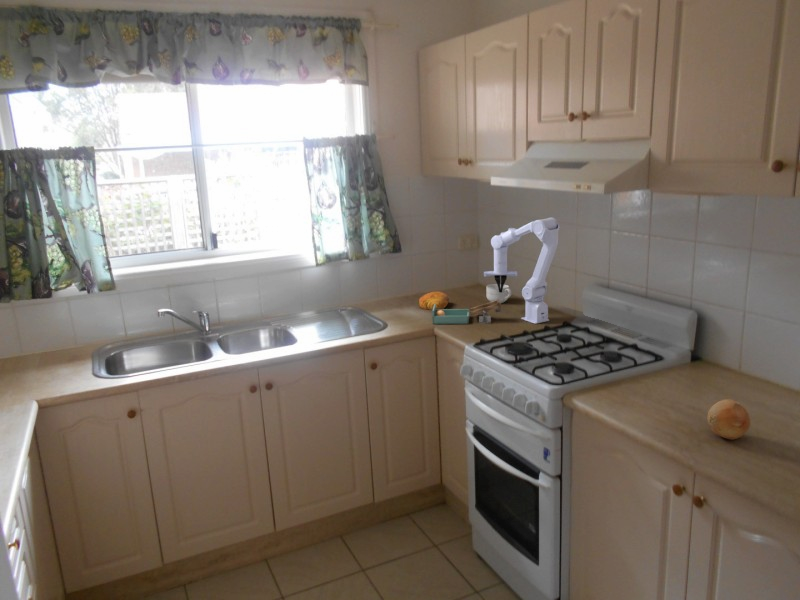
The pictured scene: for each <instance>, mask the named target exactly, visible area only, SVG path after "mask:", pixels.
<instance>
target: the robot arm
mask: <svg viewBox="0 0 800 600" xmlns="http://www.w3.org/2000/svg"><path fill="white" fill-rule="evenodd" d="M560 228H561V226H560V225H559V222H558V220H557V219H556V218H554V217H553V216H552V217H551V216H550V217H547V218H544V219H536V220H534V221H531V222H529V223H527V224H524V225H522V226H521V227H518V228H515V227H509V228H507V229H508V230H507V231H502V232H500V234H497V235H494V236H492V238H491V239H490V244H491V247H492V248H493V270H490V271H489V270H488V271H483V276H484V278H485V277H494V281H495V284H497V285H498V288H499V292H502V290H503V286H504V285H505V283H506V280H507V278H508V277H518V271H516V270H508V250H509V247H510V245H511V244H514V243H516V242H519V240H520V239H521V237H522V236H524V235H525V236H526V235H527V234H529V233H532V234H533V233H534V235H535V236H536V237H537V238H538V239H539V241H540V242H541V243H542V247H541V250H540V253H539V256H538V259H537V262H536V265H535V267H534V269H533V273H532V276H531V278H529V280H527V282H526V283H525V286H523V288H522V290H521V295H522V297H523V299H524V301H525V307H524V308H525V309H524V310H525V314H524V315H525V316H524V317H523V316H522V317H521V318H520V319H521V320H523V321H526V322H528V323H532V324H536V325H537V324H540V323H545V322H549V321H550V319H549V306H548V304H547V303H546V302H544V296H546V294H547V286H548V282H547V280H546V278H547V276H548V273H549V269H550V267H551V265H552V262H553V259H554V256H555V254H556V250H557V248H558V246H559V245H558V244H559V230H560ZM500 284H501V289H500Z"/></svg>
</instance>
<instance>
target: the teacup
mask: <svg viewBox="0 0 800 600" xmlns="http://www.w3.org/2000/svg"><path fill="white" fill-rule="evenodd" d="M485 289H486V295H485V296H486V298H487V300H488V301H489V303H490V302H493V301H497V299H499V301H500V304H503V303H505V302H506V301H508V299H509V298H510V297H511V296H512V290H511V288H510V286H509V285H507V284H504V286H503V290H502V292H499V288H498V285H497V283H493V284H487V285H486V288H485ZM500 289H501V283H500Z"/></svg>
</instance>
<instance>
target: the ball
mask: <svg viewBox="0 0 800 600" xmlns="http://www.w3.org/2000/svg"><path fill="white" fill-rule="evenodd" d="M436 316H445V313H444V311H442V310H439V311H437V313H436Z"/></svg>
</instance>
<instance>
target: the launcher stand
mask: <svg viewBox="0 0 800 600" xmlns="http://www.w3.org/2000/svg"><path fill="white" fill-rule="evenodd" d="M478 323H479V324H491V323H492V316H491V315H488V312H486V311H483V314H482V315H479V316H478Z"/></svg>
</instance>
